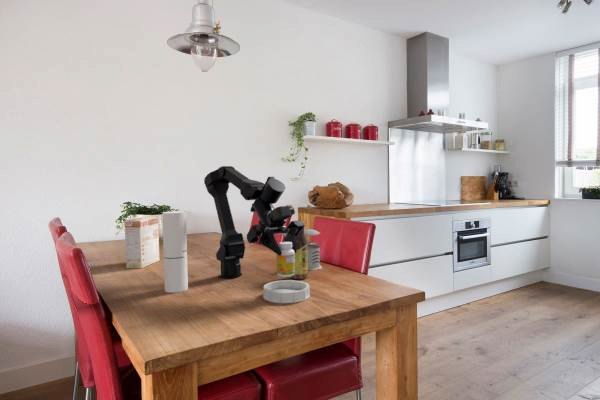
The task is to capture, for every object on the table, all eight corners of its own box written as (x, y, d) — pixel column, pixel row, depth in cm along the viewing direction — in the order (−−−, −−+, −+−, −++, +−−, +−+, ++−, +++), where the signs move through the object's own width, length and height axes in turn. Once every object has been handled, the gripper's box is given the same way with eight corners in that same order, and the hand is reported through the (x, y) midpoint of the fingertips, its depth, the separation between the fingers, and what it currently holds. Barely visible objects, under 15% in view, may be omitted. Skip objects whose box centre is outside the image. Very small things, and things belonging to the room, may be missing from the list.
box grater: (326, 266, 155) (326, 204, 153) (312, 272, 145) (311, 206, 143) (305, 263, 160) (305, 203, 158) (290, 269, 150) (289, 205, 149)
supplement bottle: (273, 273, 117) (273, 242, 116) (289, 271, 119) (289, 240, 119) (282, 278, 112) (281, 244, 111) (298, 275, 115) (297, 243, 114)
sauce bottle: (306, 280, 134) (305, 223, 133) (288, 279, 135) (287, 223, 134) (309, 275, 140) (308, 221, 139) (292, 275, 141) (291, 221, 140)
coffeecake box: (145, 260, 170) (143, 216, 169) (160, 260, 169) (158, 216, 168) (125, 268, 156) (123, 220, 154) (141, 268, 155) (140, 220, 154)
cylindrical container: (192, 287, 127) (190, 211, 125) (178, 293, 120) (176, 213, 119) (174, 285, 129) (172, 211, 128) (159, 291, 122) (157, 213, 121)
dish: (254, 299, 113) (254, 289, 113) (277, 287, 125) (277, 278, 125) (297, 306, 107) (297, 295, 107) (317, 292, 119) (317, 282, 119)
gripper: (251, 197, 111) (273, 240, 104) (301, 195, 123) (324, 233, 115) (237, 222, 118) (257, 264, 110) (286, 217, 130) (307, 255, 122)
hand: (288, 253), depth 114 cm, fingers closed on supplement bottle, 5 cm apart
